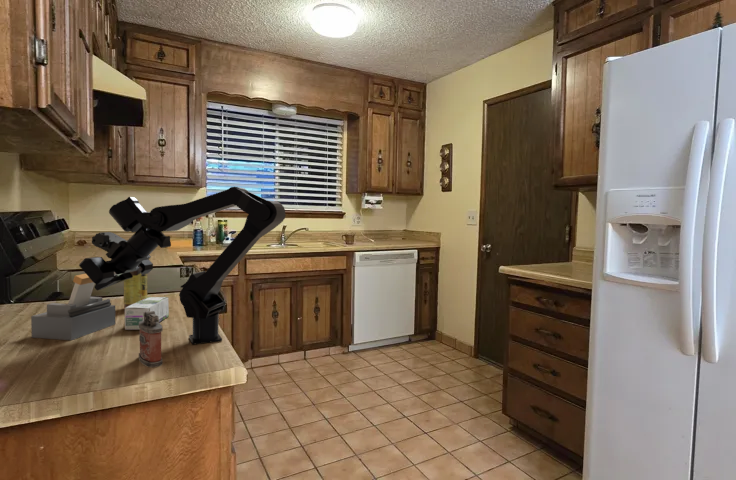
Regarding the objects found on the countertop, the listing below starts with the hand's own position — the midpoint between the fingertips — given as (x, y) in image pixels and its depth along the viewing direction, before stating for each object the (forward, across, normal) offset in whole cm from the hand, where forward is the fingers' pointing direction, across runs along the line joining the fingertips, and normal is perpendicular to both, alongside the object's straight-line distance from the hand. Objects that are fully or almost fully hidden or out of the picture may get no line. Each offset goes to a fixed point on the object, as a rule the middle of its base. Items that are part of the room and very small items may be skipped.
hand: (96, 288), depth 99 cm
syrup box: (+2, -17, +9) cm, 19 cm away
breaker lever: (+8, 0, 0) cm, 8 cm away
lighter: (-10, +16, +25) cm, 31 cm away
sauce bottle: (+12, -24, +3) cm, 27 cm away
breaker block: (+11, 0, +4) cm, 12 cm away
